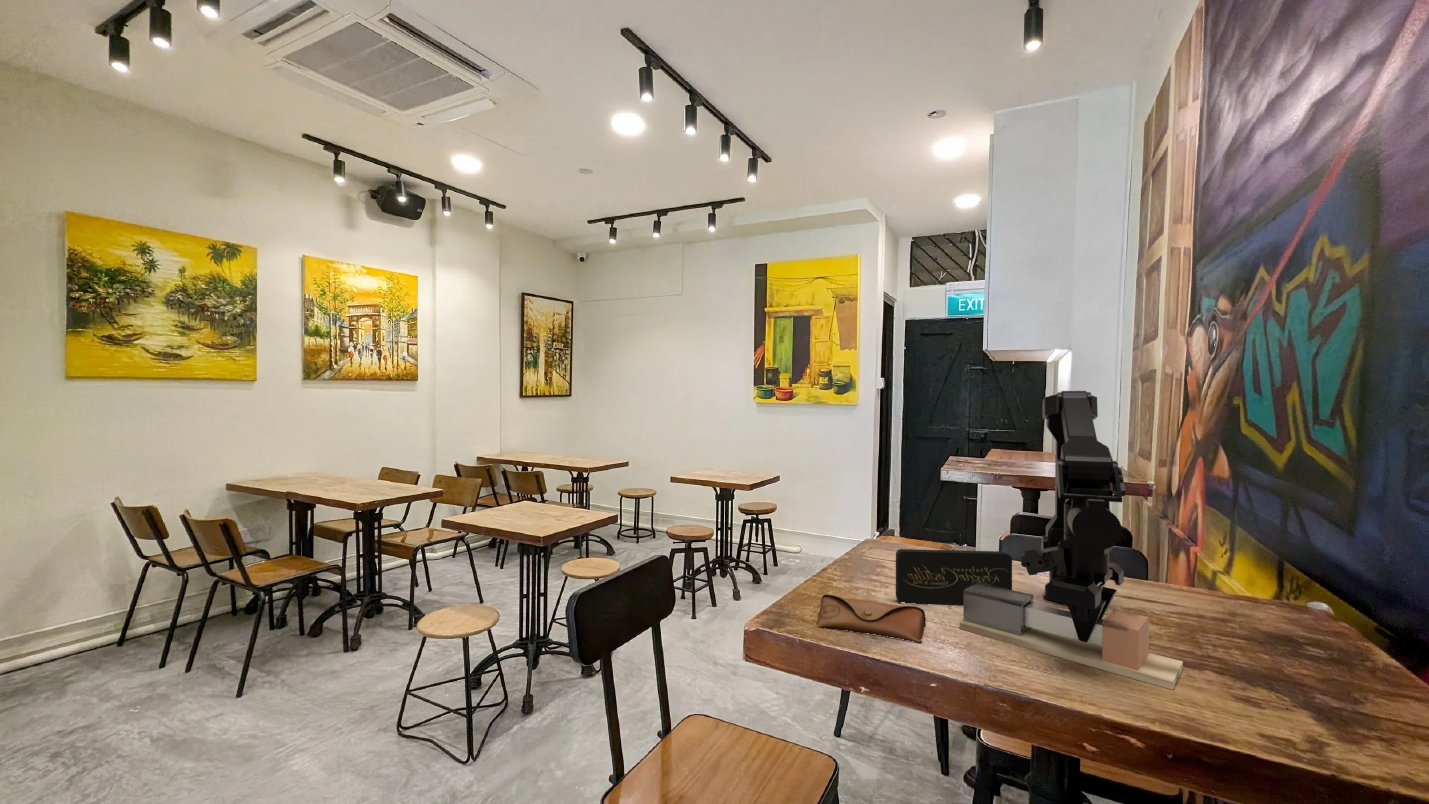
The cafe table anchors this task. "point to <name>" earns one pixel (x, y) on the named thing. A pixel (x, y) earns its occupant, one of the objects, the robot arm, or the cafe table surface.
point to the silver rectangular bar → (1056, 622)
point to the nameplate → (948, 574)
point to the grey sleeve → (996, 608)
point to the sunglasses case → (872, 618)
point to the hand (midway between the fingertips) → (1086, 638)
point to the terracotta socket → (1125, 639)
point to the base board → (1086, 654)
